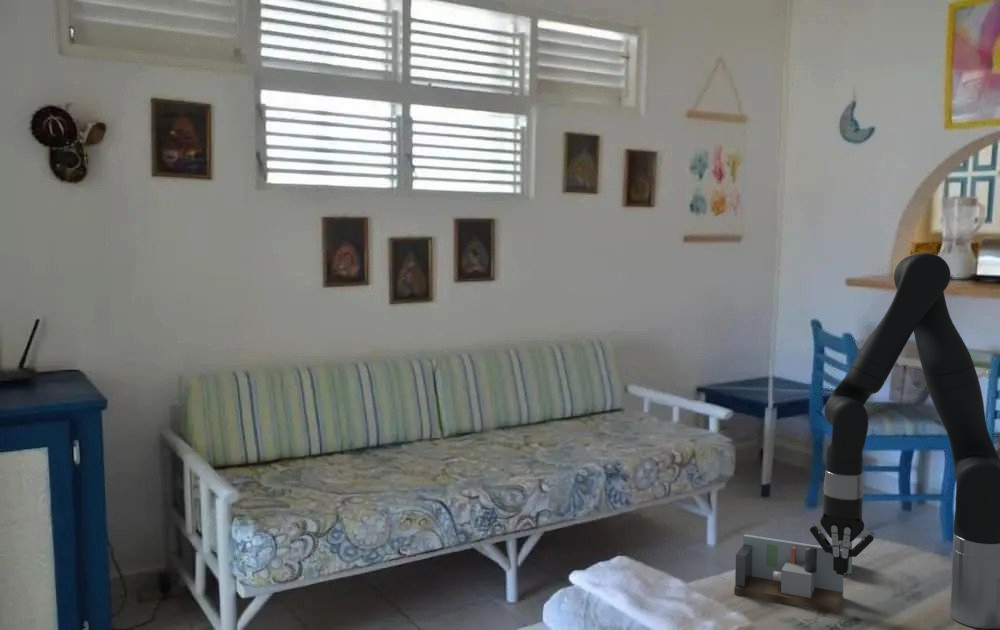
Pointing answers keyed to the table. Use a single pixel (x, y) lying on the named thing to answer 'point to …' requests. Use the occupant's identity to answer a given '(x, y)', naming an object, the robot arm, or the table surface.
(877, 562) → the table surface
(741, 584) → the textured charcoal block
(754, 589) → the base
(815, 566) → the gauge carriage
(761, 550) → the board
